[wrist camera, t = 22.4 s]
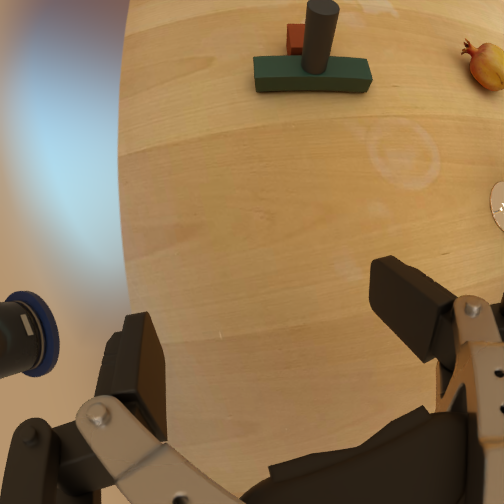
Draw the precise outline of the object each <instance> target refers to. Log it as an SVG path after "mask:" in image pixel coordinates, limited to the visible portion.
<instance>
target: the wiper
mask: <svg viewBox="0 0 504 504" xmlns="http://www.w3.org/2000/svg"><path fill="white" fill-rule="evenodd" d="M339 10H340V8H339V6H338V4H337V3H336V2H334V1H332V0H309V1H308V2H307V10H306V21H305V31H304V40H303V50H302V55H288V56H259V57H253V61H254V78H255V88H256V92H266V91H344V92H361V93H364V92H367V91H368V89H369V87H370V85H371V82H372V80H373V79H372V75H371V72H370V68H369V65H368V61H367V59H362V58H351V57H336V56H329V55H330V51H331V47H332V42H333V38H334V33H335V29H336V24H337V20H338V15H339Z"/></svg>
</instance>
